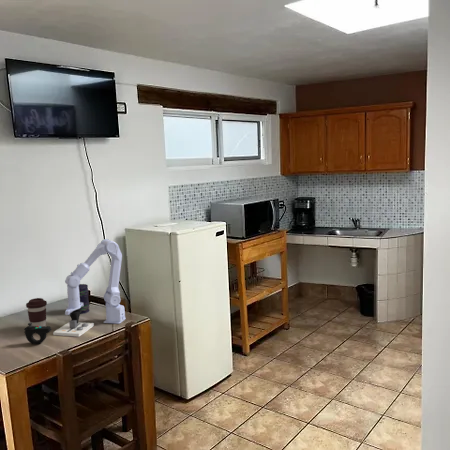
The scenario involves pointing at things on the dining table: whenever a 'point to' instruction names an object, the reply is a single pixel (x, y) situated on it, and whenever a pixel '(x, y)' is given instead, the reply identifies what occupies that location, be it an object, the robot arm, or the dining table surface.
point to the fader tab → (73, 323)
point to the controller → (38, 330)
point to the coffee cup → (37, 311)
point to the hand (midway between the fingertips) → (75, 323)
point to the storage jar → (84, 298)
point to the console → (73, 329)
